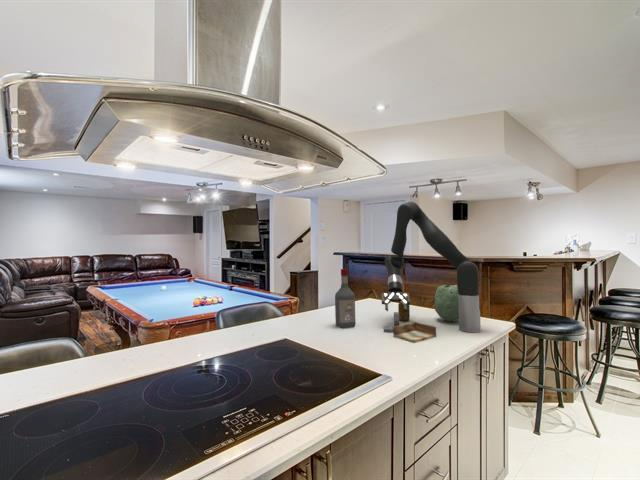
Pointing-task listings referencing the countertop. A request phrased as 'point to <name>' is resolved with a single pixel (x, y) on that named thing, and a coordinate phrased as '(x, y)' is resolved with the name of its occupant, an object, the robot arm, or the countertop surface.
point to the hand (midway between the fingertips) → (396, 310)
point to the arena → (414, 336)
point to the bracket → (396, 323)
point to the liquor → (345, 303)
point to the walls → (414, 328)
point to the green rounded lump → (447, 302)
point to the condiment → (404, 313)
